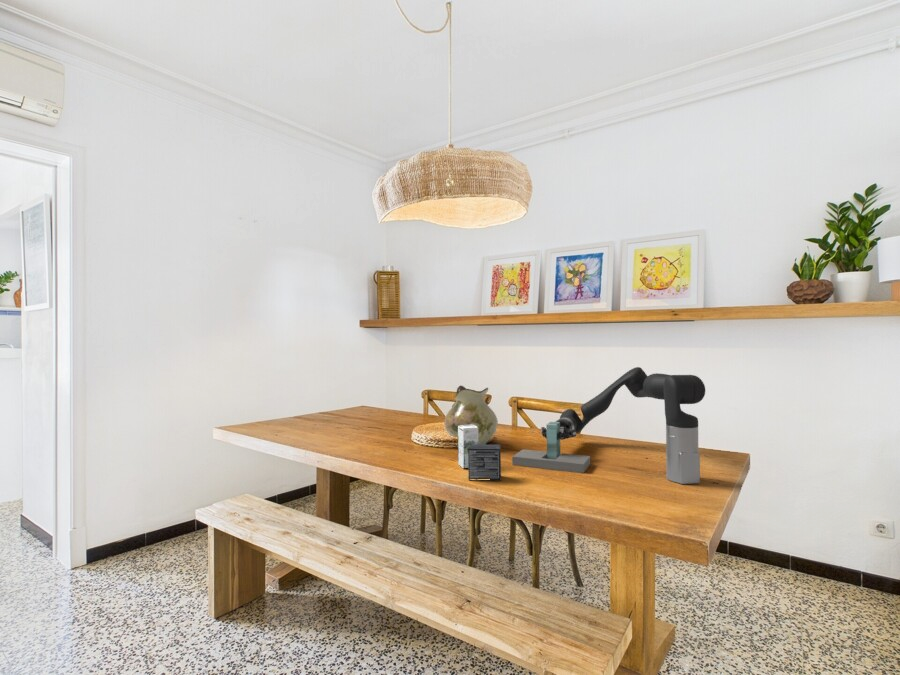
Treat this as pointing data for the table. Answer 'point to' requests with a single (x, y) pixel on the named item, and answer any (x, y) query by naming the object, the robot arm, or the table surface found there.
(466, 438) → the syrup box
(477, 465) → the small box
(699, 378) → the robot arm
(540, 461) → the slotted block
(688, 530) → the table surface
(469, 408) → the pitcher
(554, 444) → the mint green pillar
